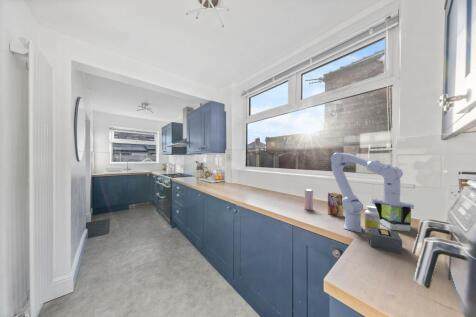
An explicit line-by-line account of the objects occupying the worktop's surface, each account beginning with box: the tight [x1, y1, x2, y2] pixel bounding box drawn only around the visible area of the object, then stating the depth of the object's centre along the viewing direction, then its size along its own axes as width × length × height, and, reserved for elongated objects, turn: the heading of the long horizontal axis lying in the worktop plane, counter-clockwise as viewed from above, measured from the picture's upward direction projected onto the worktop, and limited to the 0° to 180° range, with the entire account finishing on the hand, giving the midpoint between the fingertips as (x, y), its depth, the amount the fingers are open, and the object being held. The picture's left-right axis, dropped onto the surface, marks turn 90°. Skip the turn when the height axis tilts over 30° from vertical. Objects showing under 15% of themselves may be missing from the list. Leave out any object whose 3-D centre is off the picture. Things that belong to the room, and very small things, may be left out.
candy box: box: [327, 191, 344, 218], centre depth 116 cm, size 9×4×15 cm, turn 47°
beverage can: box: [304, 188, 314, 211], centre depth 128 cm, size 6×6×15 cm
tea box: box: [374, 197, 412, 232], centre depth 99 cm, size 15×10×15 cm, turn 168°
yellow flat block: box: [380, 230, 389, 236], centre depth 76 cm, size 5×2×6 cm, turn 145°
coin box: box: [369, 226, 403, 255], centre depth 76 cm, size 10×10×6 cm
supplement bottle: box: [364, 205, 381, 231], centre depth 93 cm, size 7×7×13 cm
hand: (391, 220), depth 79 cm, fingers open, 7 cm apart
